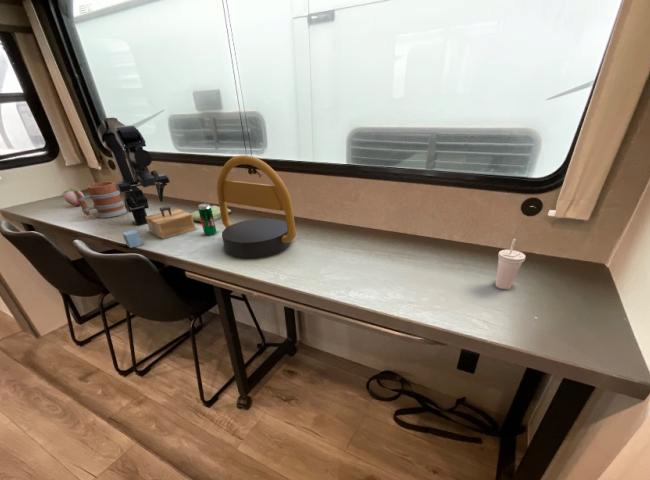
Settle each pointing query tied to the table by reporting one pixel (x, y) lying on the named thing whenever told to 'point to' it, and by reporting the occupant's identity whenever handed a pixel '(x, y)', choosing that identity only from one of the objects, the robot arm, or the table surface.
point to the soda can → (207, 219)
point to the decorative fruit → (72, 196)
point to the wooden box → (172, 227)
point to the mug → (103, 200)
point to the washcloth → (215, 213)
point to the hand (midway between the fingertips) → (150, 204)
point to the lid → (167, 216)
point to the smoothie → (508, 266)
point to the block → (132, 238)
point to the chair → (257, 233)
